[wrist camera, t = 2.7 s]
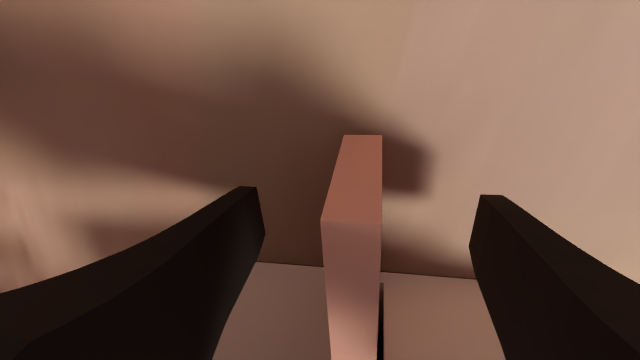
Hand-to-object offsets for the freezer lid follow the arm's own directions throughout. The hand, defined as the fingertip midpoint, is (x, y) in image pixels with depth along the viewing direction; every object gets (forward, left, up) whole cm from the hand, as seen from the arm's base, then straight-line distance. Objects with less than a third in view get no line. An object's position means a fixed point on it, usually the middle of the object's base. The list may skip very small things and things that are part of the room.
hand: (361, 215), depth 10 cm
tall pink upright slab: (0, +4, -1) cm, 4 cm away
